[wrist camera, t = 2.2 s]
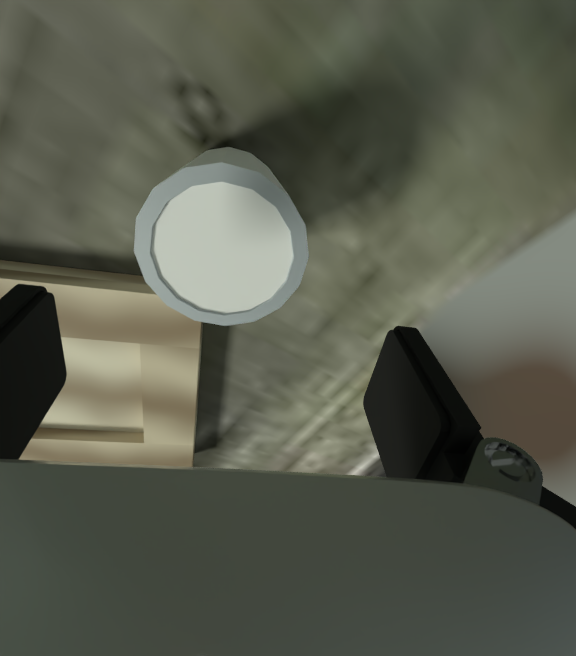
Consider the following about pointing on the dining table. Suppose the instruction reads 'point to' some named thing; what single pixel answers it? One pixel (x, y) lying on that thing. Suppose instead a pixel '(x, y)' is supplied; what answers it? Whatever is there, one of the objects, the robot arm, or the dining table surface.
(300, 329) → the dining table surface
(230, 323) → the white cup
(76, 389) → the coaster board
